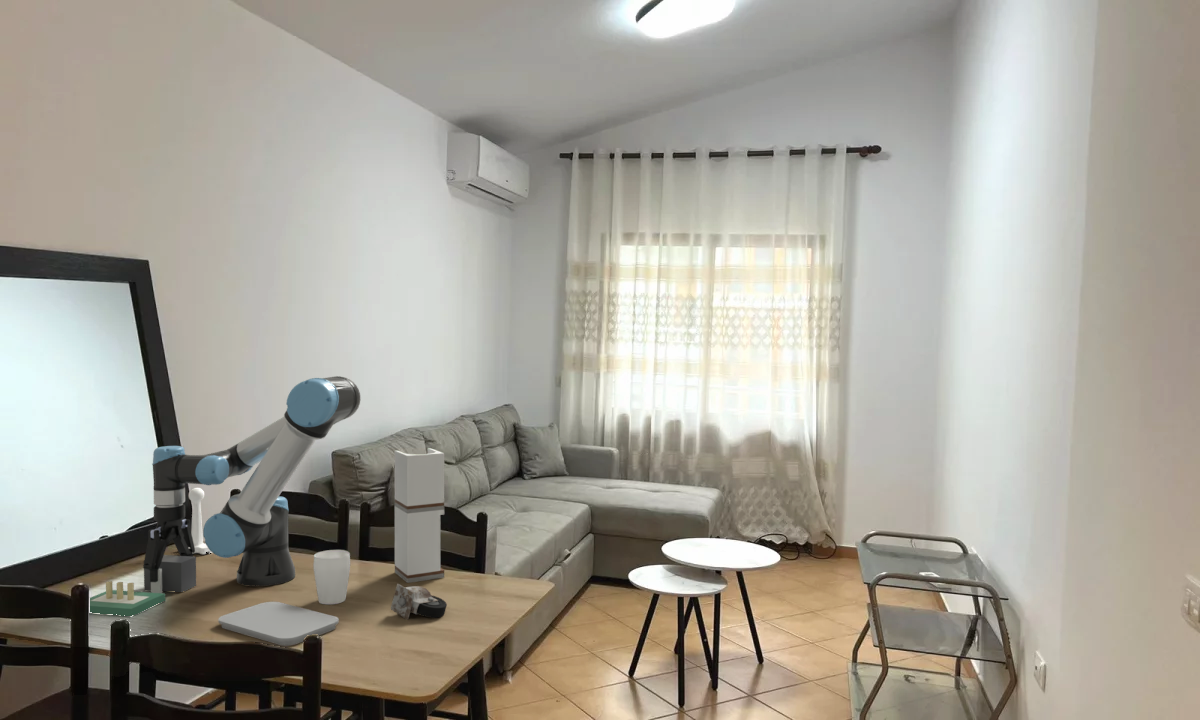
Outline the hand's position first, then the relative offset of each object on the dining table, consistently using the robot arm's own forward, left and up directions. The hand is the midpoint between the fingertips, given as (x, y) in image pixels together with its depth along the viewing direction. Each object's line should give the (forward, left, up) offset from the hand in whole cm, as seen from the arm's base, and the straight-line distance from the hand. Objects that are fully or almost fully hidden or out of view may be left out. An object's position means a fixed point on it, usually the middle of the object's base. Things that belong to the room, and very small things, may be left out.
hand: (170, 587), depth 229 cm
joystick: (+17, -33, 0) cm, 37 cm away
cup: (-47, +1, 0) cm, 47 cm away
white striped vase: (-60, -25, 0) cm, 65 cm away
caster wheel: (-73, +6, -1) cm, 74 cm away
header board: (+2, +16, 0) cm, 16 cm away
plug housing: (0, 0, 0) cm, 0 cm away
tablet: (-44, +21, -1) cm, 49 cm away
